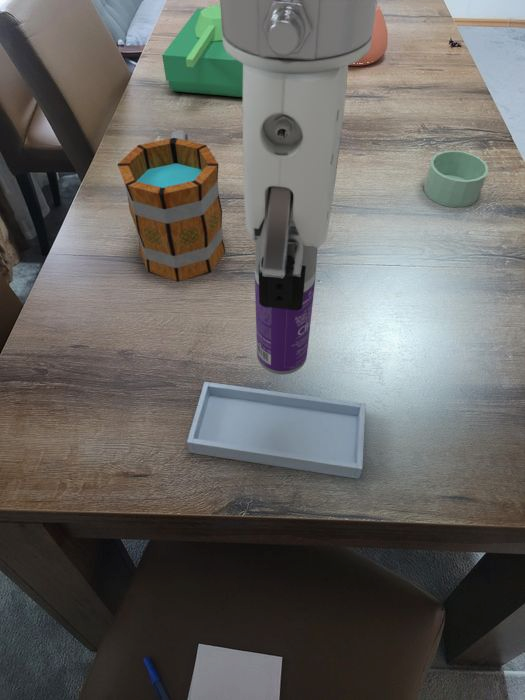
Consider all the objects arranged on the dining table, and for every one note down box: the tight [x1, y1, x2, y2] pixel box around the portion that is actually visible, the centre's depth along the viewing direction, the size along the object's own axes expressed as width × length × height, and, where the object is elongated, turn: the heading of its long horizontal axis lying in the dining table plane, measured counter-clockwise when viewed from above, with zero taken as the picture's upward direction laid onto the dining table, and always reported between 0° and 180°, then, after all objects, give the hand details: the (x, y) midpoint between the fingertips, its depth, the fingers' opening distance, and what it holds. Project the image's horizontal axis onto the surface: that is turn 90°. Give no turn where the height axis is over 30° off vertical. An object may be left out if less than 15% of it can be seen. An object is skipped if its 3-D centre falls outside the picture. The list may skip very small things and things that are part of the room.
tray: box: [186, 381, 366, 480], centre depth 56 cm, size 19×8×3 cm, turn 80°
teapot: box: [349, 4, 389, 67], centre depth 116 cm, size 22×16×12 cm
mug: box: [117, 129, 227, 282], centre depth 73 cm, size 20×14×15 cm
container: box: [254, 222, 319, 375], centre depth 40 cm, size 5×5×15 cm
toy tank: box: [161, 4, 243, 98], centre depth 109 cm, size 18×12×35 cm
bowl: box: [423, 149, 490, 208], centre depth 85 cm, size 9×9×5 cm
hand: (286, 278), depth 38 cm, fingers closed on container, 4 cm apart
